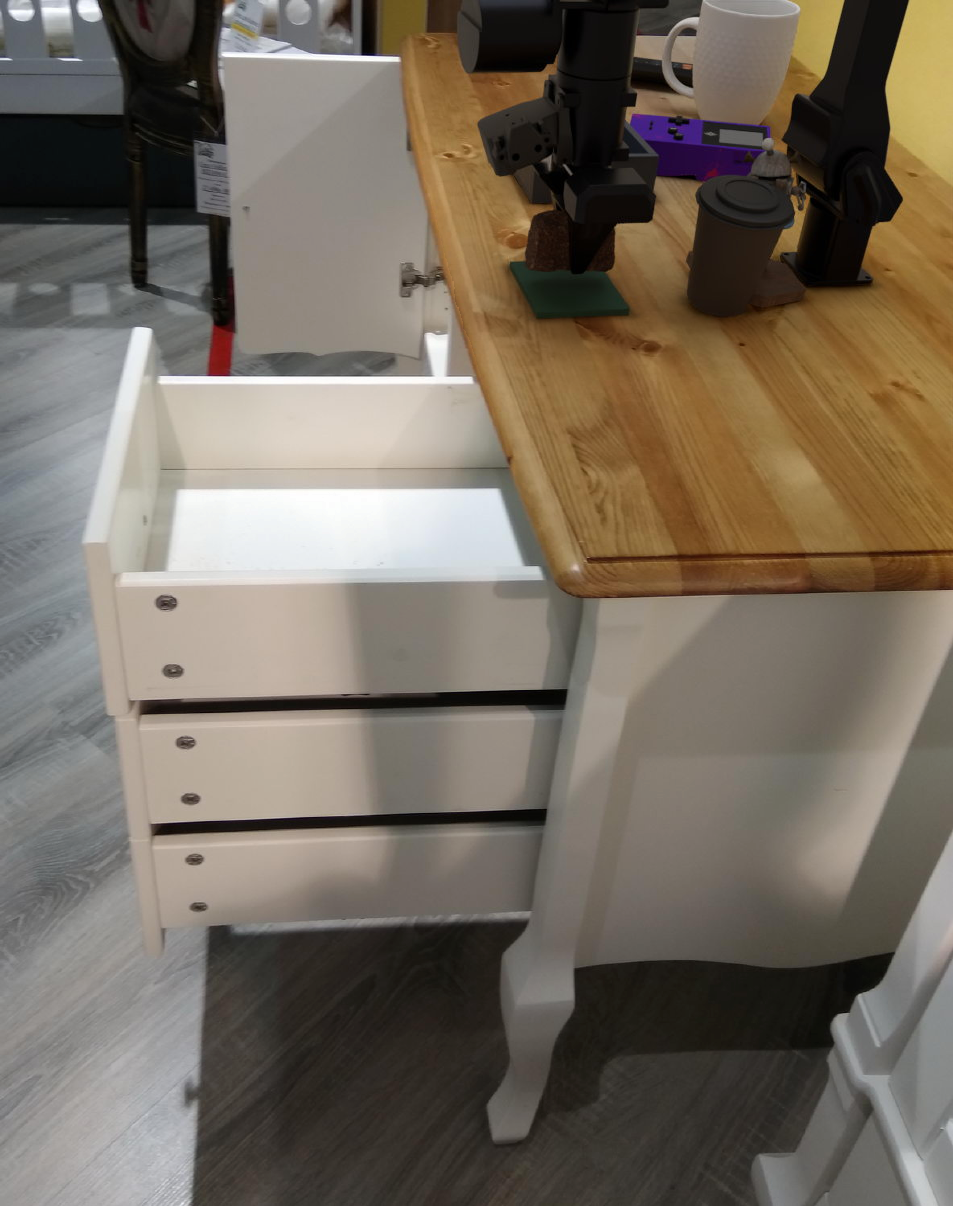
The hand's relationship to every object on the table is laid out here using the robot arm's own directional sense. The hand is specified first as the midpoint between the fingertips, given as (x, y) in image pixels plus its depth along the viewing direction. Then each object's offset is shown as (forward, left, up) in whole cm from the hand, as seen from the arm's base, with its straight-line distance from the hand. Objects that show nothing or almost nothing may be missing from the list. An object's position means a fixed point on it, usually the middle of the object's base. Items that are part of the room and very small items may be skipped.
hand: (571, 265), depth 99 cm
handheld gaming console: (+30, -22, -3) cm, 37 cm away
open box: (+27, -8, -2) cm, 28 cm away
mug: (+44, -31, -3) cm, 54 cm away
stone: (0, 0, -1) cm, 1 cm away
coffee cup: (-3, -12, -2) cm, 13 cm away
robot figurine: (-1, -16, -2) cm, 16 cm away
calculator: (+61, -29, -3) cm, 68 cm away
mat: (0, 0, -2) cm, 2 cm away
